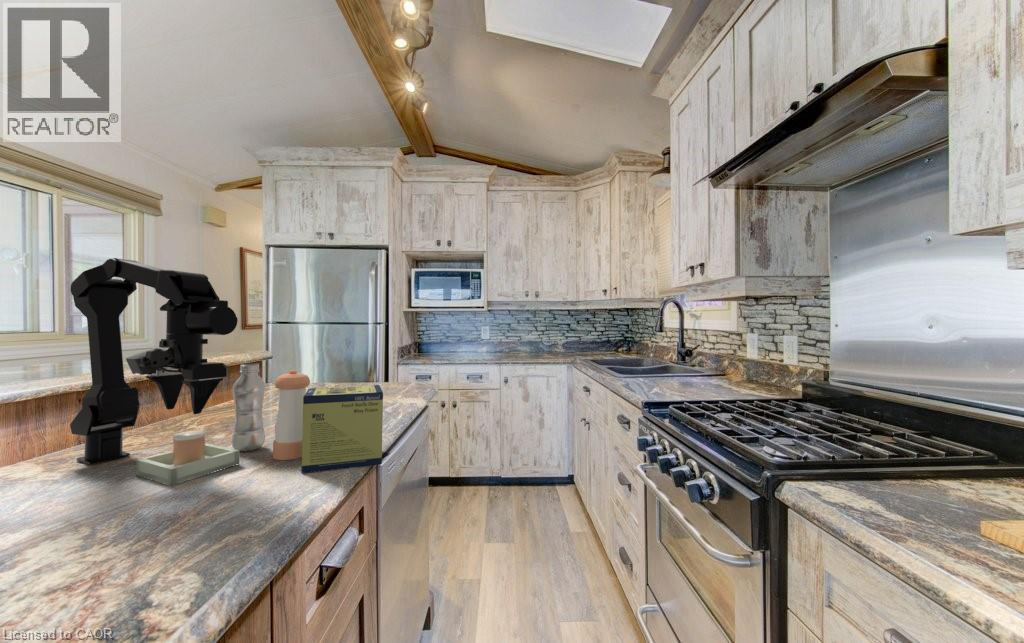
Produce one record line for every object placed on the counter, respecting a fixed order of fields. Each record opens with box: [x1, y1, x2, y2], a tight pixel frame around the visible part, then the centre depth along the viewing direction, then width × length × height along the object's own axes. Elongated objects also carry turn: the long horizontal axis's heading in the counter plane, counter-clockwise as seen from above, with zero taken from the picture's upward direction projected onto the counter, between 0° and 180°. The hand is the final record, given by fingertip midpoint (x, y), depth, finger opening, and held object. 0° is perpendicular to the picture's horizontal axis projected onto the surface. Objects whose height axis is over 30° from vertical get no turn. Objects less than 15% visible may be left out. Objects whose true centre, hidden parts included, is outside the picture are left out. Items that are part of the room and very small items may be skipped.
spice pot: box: [172, 429, 206, 467], centre depth 80 cm, size 5×5×6 cm
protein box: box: [300, 384, 384, 474], centre depth 86 cm, size 10×16×16 cm
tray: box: [135, 442, 240, 487], centre depth 80 cm, size 12×12×3 cm
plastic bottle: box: [231, 363, 266, 452], centre depth 92 cm, size 6×7×20 cm
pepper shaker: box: [272, 369, 311, 461], centre depth 89 cm, size 7×7×19 cm
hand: (183, 411), depth 80 cm, fingers open, 9 cm apart
